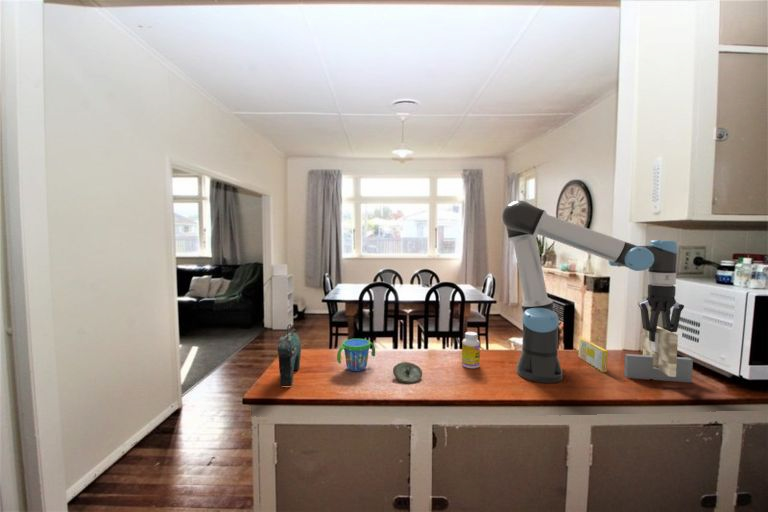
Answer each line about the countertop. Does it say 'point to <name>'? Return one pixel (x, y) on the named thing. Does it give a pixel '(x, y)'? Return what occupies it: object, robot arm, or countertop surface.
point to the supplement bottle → (470, 350)
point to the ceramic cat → (288, 356)
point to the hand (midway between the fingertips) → (658, 350)
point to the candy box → (593, 354)
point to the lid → (407, 372)
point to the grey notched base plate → (656, 368)
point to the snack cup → (356, 353)
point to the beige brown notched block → (663, 350)
